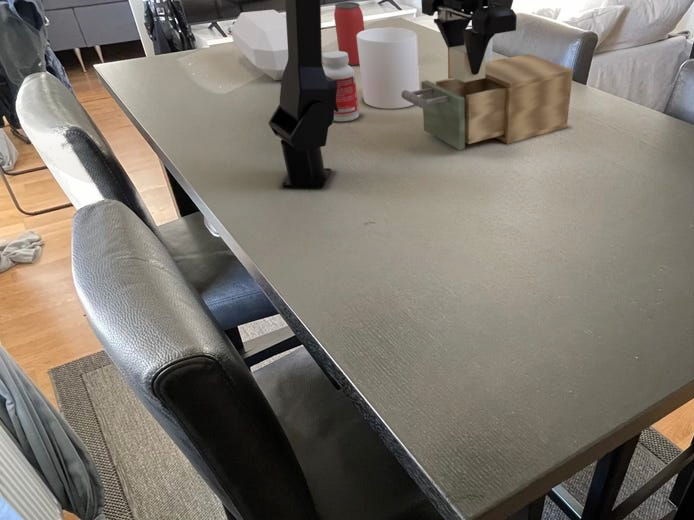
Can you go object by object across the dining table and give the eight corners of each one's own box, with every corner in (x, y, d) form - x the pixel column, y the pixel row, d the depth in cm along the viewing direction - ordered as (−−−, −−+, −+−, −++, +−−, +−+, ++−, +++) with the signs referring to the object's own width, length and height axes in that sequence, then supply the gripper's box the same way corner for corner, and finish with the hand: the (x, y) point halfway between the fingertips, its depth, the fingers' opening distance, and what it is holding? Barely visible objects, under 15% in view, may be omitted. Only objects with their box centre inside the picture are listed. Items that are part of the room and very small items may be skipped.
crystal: (253, 37, 121) (222, 10, 138) (265, 87, 127) (234, 56, 145) (321, 29, 126) (283, 5, 144) (328, 78, 133) (291, 49, 150)
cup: (367, 110, 117) (360, 43, 109) (360, 92, 125) (353, 28, 117) (425, 106, 119) (421, 40, 111) (414, 89, 128) (410, 25, 119)
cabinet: (507, 143, 105) (509, 83, 98) (466, 123, 113) (466, 65, 106) (566, 127, 112) (573, 69, 105) (524, 109, 119) (528, 53, 112)
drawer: (431, 157, 98) (429, 105, 92) (396, 136, 105) (392, 86, 99) (519, 133, 106) (522, 84, 101) (482, 116, 113) (483, 68, 107)
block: (485, 78, 100) (485, 49, 97) (464, 82, 98) (464, 53, 95) (470, 72, 102) (470, 43, 99) (449, 76, 100) (449, 47, 97)
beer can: (337, 60, 143) (329, 2, 135) (363, 57, 145) (357, 0, 137) (344, 67, 139) (336, 8, 131) (371, 64, 141) (365, 6, 133)
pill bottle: (364, 118, 114) (357, 55, 106) (335, 124, 111) (325, 60, 104) (351, 109, 118) (343, 47, 110) (322, 115, 115) (312, 52, 107)
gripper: (547, -38, 87) (538, 76, 97) (473, -53, 98) (473, 51, 108) (487, -32, 82) (485, 88, 92) (417, -48, 93) (422, 61, 103)
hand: (467, 70), depth 99 cm, fingers closed on block, 4 cm apart
